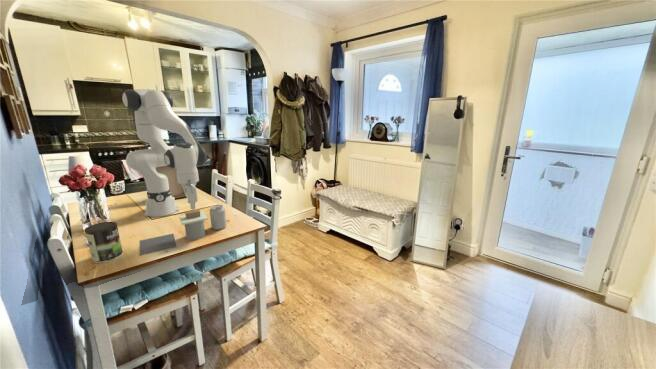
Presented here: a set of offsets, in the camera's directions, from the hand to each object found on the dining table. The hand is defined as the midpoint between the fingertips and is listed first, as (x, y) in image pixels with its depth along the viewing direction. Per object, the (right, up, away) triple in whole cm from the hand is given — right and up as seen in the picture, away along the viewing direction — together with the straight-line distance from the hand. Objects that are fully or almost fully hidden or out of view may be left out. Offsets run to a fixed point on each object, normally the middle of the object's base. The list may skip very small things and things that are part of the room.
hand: (191, 205), depth 126 cm
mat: (-14, -18, -4) cm, 23 cm away
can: (+7, -13, +15) cm, 21 cm away
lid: (0, -6, +2) cm, 6 cm away
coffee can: (-28, -21, -14) cm, 38 cm away
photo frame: (-47, 0, +59) cm, 76 cm away
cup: (0, -16, +4) cm, 17 cm away
